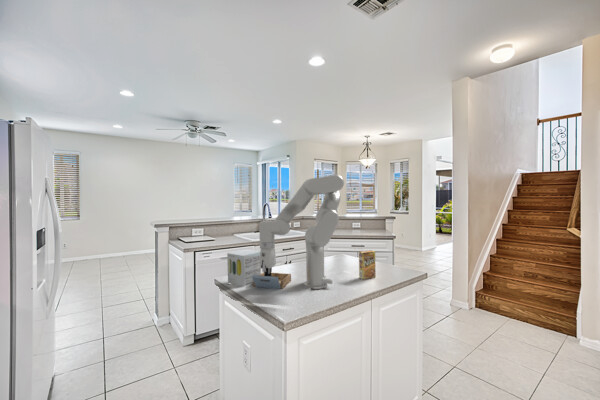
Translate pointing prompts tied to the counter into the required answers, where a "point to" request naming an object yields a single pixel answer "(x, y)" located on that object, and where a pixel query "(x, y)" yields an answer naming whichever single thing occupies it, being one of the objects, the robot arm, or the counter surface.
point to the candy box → (367, 264)
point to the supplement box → (243, 266)
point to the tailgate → (266, 281)
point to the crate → (280, 278)
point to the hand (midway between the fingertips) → (268, 280)
